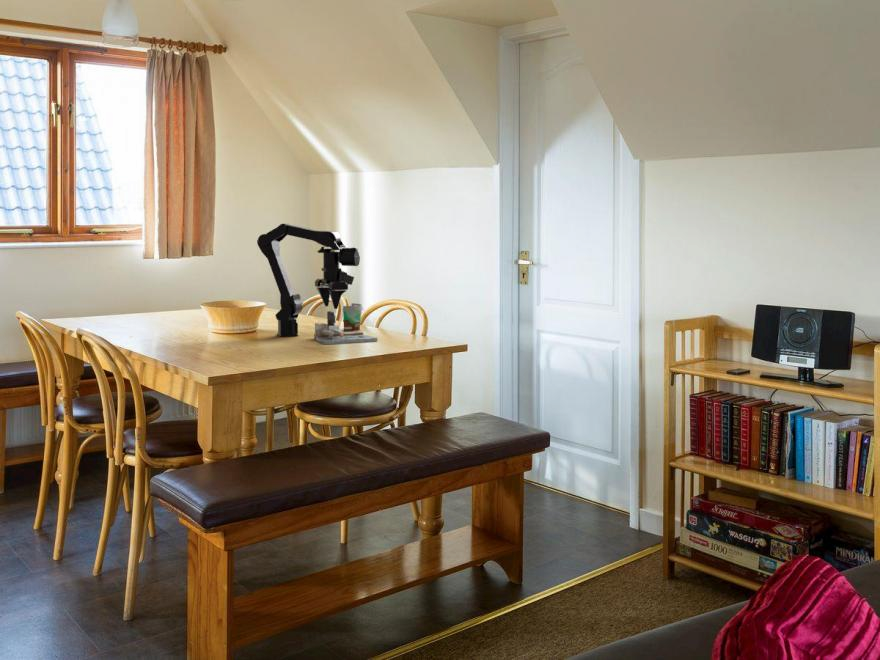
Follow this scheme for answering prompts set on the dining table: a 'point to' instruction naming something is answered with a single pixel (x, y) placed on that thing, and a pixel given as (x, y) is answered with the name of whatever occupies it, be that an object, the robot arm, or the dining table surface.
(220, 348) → the dining table surface
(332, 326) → the divider leg
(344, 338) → the hole plate
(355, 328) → the food container
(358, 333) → the divider rail
